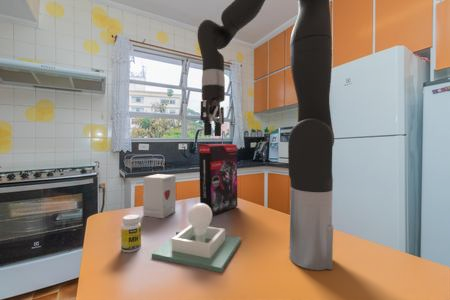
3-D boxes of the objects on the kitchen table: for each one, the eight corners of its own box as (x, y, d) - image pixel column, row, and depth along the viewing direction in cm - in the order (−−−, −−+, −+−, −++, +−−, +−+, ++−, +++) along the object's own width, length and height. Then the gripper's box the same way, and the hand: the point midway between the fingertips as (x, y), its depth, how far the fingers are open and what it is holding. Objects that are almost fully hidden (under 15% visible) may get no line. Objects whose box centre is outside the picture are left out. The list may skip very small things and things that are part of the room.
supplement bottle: (128, 254, 54) (128, 221, 54) (117, 249, 57) (117, 217, 57) (144, 246, 59) (144, 215, 58) (133, 242, 61) (133, 212, 61)
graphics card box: (211, 217, 81) (211, 144, 80) (198, 213, 86) (198, 144, 85) (237, 207, 95) (238, 144, 94) (225, 204, 99) (225, 143, 98)
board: (241, 241, 62) (241, 227, 62) (221, 272, 47) (221, 254, 47) (185, 232, 68) (185, 219, 68) (151, 257, 53) (151, 241, 53)
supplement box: (163, 219, 80) (162, 178, 79) (142, 216, 83) (142, 176, 82) (176, 211, 88) (176, 174, 88) (157, 209, 91) (157, 173, 91)
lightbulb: (208, 251, 54) (208, 207, 54) (184, 249, 55) (184, 206, 55) (214, 240, 60) (215, 200, 60) (192, 238, 62) (192, 199, 61)
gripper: (215, 79, 64) (215, 135, 65) (230, 90, 78) (230, 136, 78) (192, 81, 67) (192, 135, 67) (211, 91, 80) (211, 136, 81)
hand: (213, 135), depth 73 cm, fingers open, 8 cm apart
